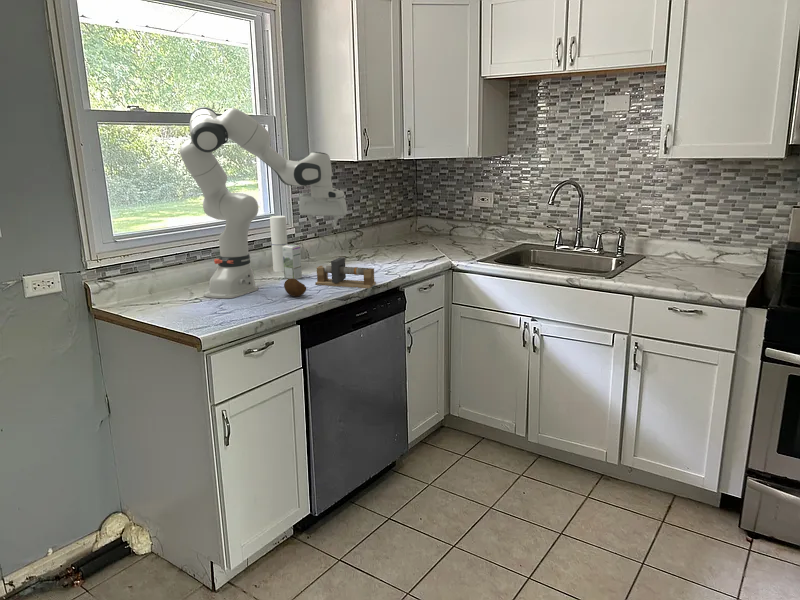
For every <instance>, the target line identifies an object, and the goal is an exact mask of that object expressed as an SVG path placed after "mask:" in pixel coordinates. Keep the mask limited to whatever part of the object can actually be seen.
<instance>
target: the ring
mask: <svg viewBox="0 0 800 600" xmlns="http://www.w3.org/2000/svg"><path fill="white" fill-rule="evenodd" d="M330 263H331V264H330V266H331V272H332V273H331V279H332V283H338V282H340V281H342V280H346V278H347V277H346V275H347V274H339V266H340V267H346V257H341V256H340V257H337V258H335V259H333V260H331V261H330Z"/></svg>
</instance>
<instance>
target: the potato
mask: <svg viewBox="0 0 800 600" xmlns="http://www.w3.org/2000/svg"><path fill="white" fill-rule="evenodd" d="M283 288H284V290H285V292H287V294H288V295H289V296H291V297H295V298H297V297H301V296H302V295H304V294H305V293H306V291H307V286H306V285H305V283H302V282H301V281H299V280H298V279H294V278H291V279H286V280H285V281H284V283H283Z"/></svg>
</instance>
